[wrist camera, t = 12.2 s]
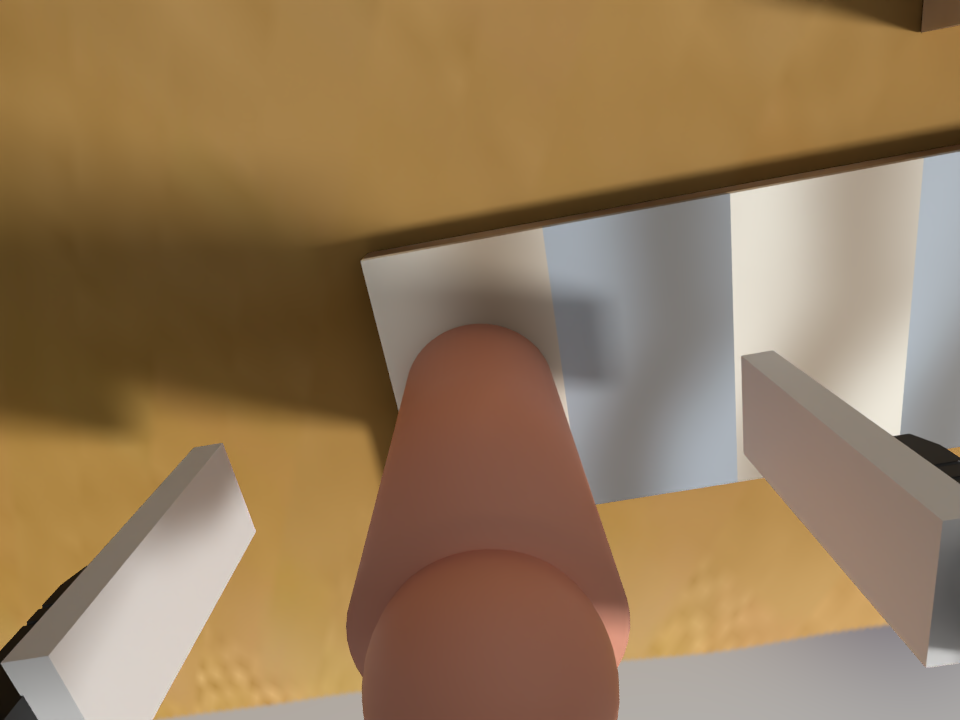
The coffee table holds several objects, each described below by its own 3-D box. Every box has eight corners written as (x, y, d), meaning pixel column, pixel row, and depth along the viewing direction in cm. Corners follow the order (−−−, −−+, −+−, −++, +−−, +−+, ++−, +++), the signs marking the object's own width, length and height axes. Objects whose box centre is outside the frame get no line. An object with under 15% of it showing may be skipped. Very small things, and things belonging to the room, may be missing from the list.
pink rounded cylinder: (423, 469, 19) (355, 945, 8) (390, 337, 17) (249, 703, 6) (563, 446, 18) (695, 902, 7) (543, 311, 17) (675, 641, 6)
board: (431, 509, 20) (429, 531, 19) (367, 252, 17) (360, 261, 16) (1351, 361, 19) (1406, 375, 18) (1468, 50, 16) (1544, 44, 15)
